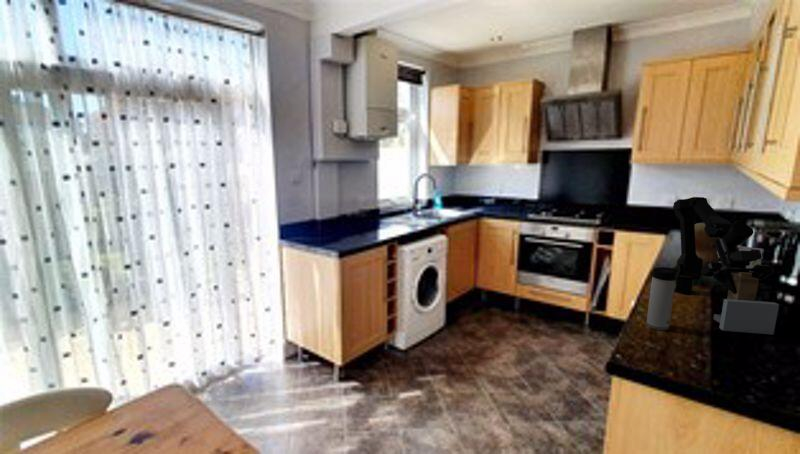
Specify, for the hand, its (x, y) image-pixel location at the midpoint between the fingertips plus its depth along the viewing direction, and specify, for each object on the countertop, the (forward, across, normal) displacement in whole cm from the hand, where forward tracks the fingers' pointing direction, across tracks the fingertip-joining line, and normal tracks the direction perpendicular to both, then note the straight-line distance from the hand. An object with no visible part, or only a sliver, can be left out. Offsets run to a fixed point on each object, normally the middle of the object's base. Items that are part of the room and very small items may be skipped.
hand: (744, 293), depth 125 cm
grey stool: (+7, 0, +9) cm, 12 cm away
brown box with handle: (+4, 0, +6) cm, 7 cm away
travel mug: (+12, -26, +4) cm, 30 cm away
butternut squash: (-41, +23, +58) cm, 74 cm away
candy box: (-31, +32, +48) cm, 66 cm away
